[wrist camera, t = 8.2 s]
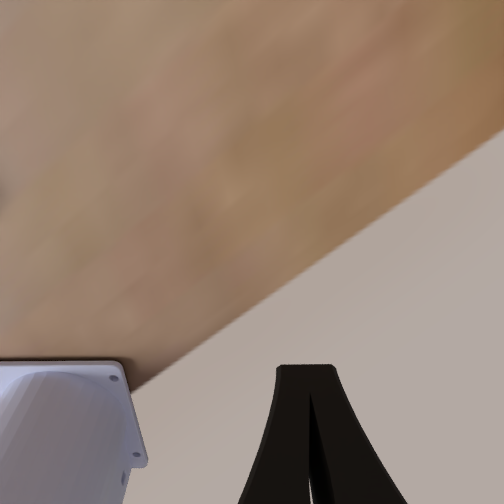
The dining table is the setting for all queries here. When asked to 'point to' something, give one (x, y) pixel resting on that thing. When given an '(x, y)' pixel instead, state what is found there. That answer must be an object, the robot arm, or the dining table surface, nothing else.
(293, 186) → the dining table surface
